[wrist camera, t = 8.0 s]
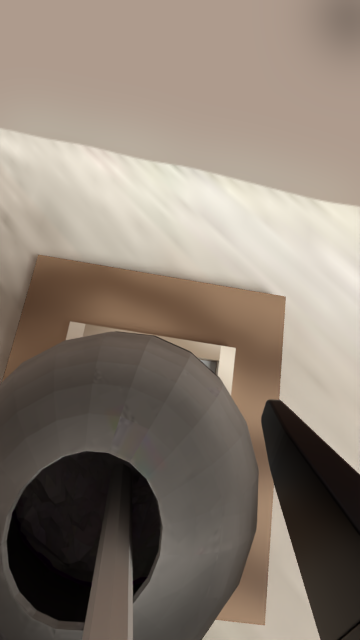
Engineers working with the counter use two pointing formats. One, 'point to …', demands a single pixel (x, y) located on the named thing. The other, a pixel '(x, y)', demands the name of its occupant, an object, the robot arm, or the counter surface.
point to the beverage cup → (121, 492)
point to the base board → (182, 330)
